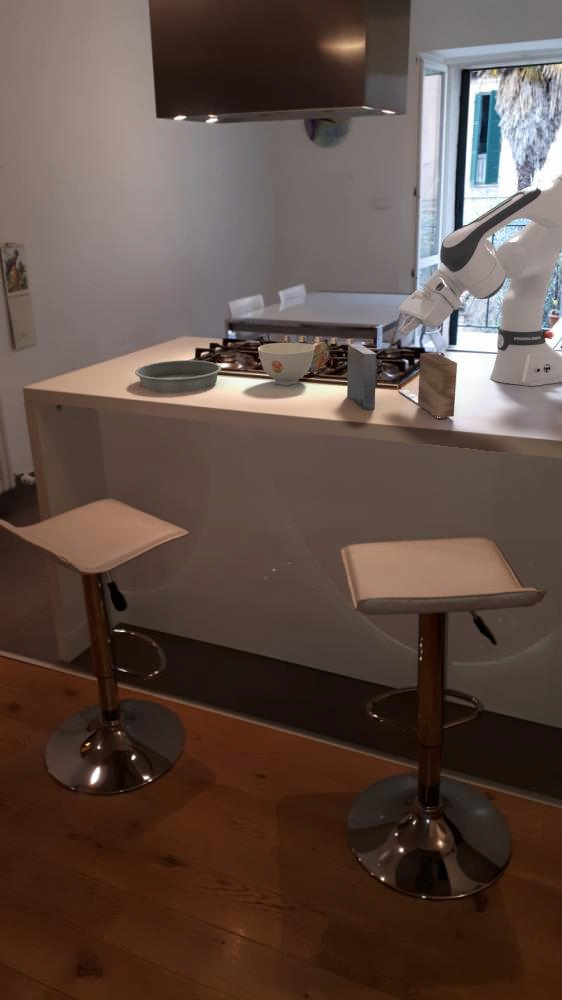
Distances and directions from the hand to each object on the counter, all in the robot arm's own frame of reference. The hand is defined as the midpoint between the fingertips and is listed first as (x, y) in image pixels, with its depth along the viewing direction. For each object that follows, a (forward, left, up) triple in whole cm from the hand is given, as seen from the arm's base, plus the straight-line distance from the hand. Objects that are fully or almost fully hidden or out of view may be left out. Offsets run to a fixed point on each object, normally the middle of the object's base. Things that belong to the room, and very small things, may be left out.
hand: (401, 333), depth 204 cm
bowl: (+24, -28, -18) cm, 41 cm away
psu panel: (+3, +5, -17) cm, 18 cm away
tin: (+12, -40, -18) cm, 45 cm away
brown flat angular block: (-4, +14, -17) cm, 23 cm away
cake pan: (+54, -36, -18) cm, 67 cm away
